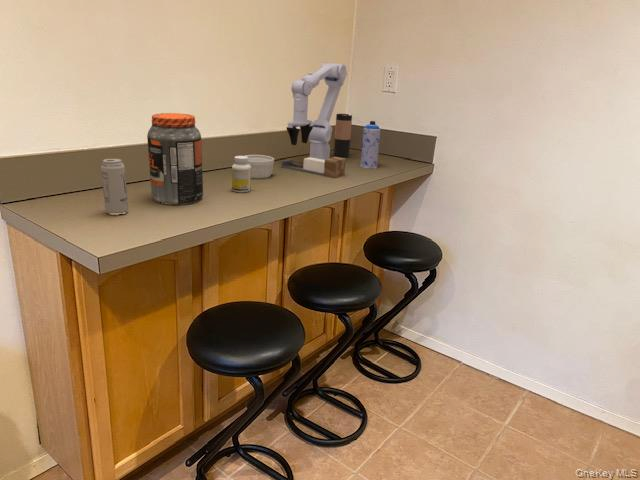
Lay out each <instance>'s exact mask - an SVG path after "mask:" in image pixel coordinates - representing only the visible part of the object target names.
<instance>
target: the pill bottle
mask: <svg viewBox="0 0 640 480" xmlns="http://www.w3.org/2000/svg"><path fill="white" fill-rule="evenodd" d="M231 189H232V191H233V192H235V193H248V192H250V191H251V190H252V178H251V166H250V165H249V164H248V157H247V156H246V155H236V156H234V163H233V164H232V166H231Z"/></svg>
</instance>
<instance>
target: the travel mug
mask: <svg viewBox="0 0 640 480" xmlns="http://www.w3.org/2000/svg"><path fill="white" fill-rule="evenodd" d="M352 120H353V115H352V114H351V115H349V114H348V113H336V116H335V127H334V130H335V132H334V141H333V142H334V147H333V149H334V150H333V157H340V158H345V159H347V158H349V156H350V154H349V153H350V147H351V138H352V136H351V135H352Z"/></svg>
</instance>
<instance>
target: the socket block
mask: <svg viewBox="0 0 640 480" xmlns="http://www.w3.org/2000/svg"><path fill="white" fill-rule="evenodd" d="M346 159H347V158H340V157H335V156H332V157H330V158H328V159H325V164H324V176H323V177H327V178H332V179H336V178H339V177H343V176H345V171H346Z"/></svg>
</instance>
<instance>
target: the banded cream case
mask: <svg viewBox="0 0 640 480" xmlns="http://www.w3.org/2000/svg"><path fill="white" fill-rule="evenodd" d="M324 164H325V160H323V159H317V158H312V157H310V156H309V157H305V158H303V164H302V165H303V167H302V169H304V170H309V171H314V172H319V173H324Z"/></svg>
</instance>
